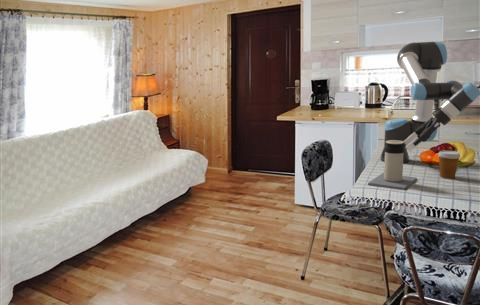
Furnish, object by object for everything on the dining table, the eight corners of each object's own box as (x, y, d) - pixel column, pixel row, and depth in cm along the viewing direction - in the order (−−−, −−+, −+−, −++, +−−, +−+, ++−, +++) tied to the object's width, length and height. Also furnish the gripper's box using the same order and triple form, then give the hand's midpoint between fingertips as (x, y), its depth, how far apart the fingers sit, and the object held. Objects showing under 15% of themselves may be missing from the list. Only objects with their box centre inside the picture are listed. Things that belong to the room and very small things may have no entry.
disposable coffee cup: (445, 180, 194) (447, 155, 192) (432, 175, 203) (433, 151, 201) (463, 178, 196) (465, 153, 194) (449, 173, 205) (451, 149, 203)
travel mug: (404, 182, 190) (406, 142, 186) (387, 182, 190) (388, 143, 186) (398, 177, 197) (400, 139, 194) (381, 177, 198) (383, 140, 194)
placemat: (382, 175, 206) (382, 173, 206) (416, 179, 197) (416, 177, 197) (367, 184, 190) (368, 182, 190) (404, 190, 181) (404, 187, 181)
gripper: (457, 123, 169) (415, 158, 176) (446, 115, 192) (410, 147, 199) (443, 110, 169) (402, 145, 177) (434, 104, 192) (398, 136, 200)
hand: (406, 146), depth 188 cm, fingers open, 13 cm apart
